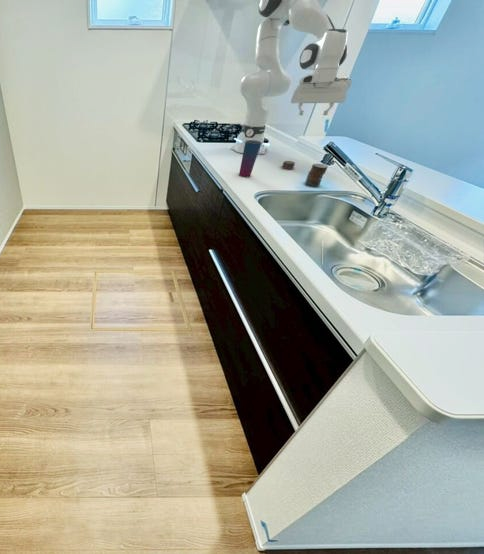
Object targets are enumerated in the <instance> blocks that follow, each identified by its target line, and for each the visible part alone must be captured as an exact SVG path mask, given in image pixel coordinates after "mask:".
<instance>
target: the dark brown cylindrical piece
mask: <svg viewBox="0 0 484 554" xmlns="http://www.w3.org/2000/svg"><path fill="white" fill-rule="evenodd" d="M328 168H329V166H328V165H326V164H323V163H313V164H312V165H311V168H310V170H308V173H307V175H306V179H305V182H304V185H305V186H307V187H311V188H319V187H320V185H321V183H322V180H323V177H324V175H325V174H326V172H327V171H328V170H327V169H328Z"/></svg>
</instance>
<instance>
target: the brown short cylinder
mask: <svg viewBox="0 0 484 554" xmlns="http://www.w3.org/2000/svg"><path fill="white" fill-rule="evenodd" d="M295 165H296V162H295V161H292V160H284V161H283V162H282V166H281V168H282V169H284V170H293V169H294V167H295Z"/></svg>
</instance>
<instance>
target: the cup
mask: <svg viewBox="0 0 484 554" xmlns="http://www.w3.org/2000/svg"><path fill="white" fill-rule="evenodd" d="M261 143H262V142H260V141H256V140H246V141H245V146H244V151H243V153H242V156H241V162H240V168H239V173H238V176H240V177H242V178H251V175H252V171H253V169H254V166H255V163H256V161H257V157H258V155H259V154H258V152H259V149H260V146H261Z"/></svg>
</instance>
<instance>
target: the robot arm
mask: <svg viewBox="0 0 484 554" xmlns="http://www.w3.org/2000/svg"><path fill="white" fill-rule="evenodd" d="M258 14H259V15H260V16H261V17H264V19H263V20H262V21H261V22H260V24H259V25H258V28H257V32H256V39H255V49H254V50H255V52H254V63H255V65H256V66H257V68H259V69H260V70H261V71H253V72H249V73H246V74H245V75H244V76H243V77H242V78H241V80H240V82H239V93H240V94H241V96H243V98H244V100H245V102H246V114H245V118H244V123H243V124H242V127H241V132H240V133H238V135H237V137H234V140H235V144H234V146H232V147H231V150H233V151H234V152H236V153H239V154H243V151H244V146H245V141H246V140H256V141H260V142H262V143H261V146H260V149H259V152H258V155H264V154H265V152H266V149H267V147H266V146H269V147H270V143H266V142H264V141H265V131H266V123H267V120H268V117H269V112H270V110H269V108H268V106H267V105H266V104H264V103H263V98H264V97H265V98H266V97H268V98H269V97H270V98H271V97H278V96H279V97H280V96H282V95H285V94H286V93H287V92H288V91H289V89H290V87H291V84H292V77H291V75H290V73H289V72H287V71H286V70H285V68H284V67H283V65H282V62H281V59H280V40H281V29H282V27H283V26H284V27H287V26H289V25H290V26H291V28H292V29H294V30H295V31H298V32H301V33H306V34H310V35H313V36H315V37H316V38H317V39H316V40H315V41H313V42H311V43H309V44H307V45H306V46H305V47H304V49H303V50H302V51H301V54H300V56H299V67H300V68H301V69H302V70H305V71H312V73H311V74H307V75H305V76H302V77H300V78H299V81H298V84H297V85H296V86H295V89H294V90H293V93H292V96H291V98H290V103H291V104H298V106H297V107H298V116H303V115H304V110H302V107H303V105H304V104H328V107H327V109H326V110H324V111H323V113H322V116H328V114H329V111H330V110H331V109H332V108H333V107H334V105H335V104H343V103H344V102H345V101H346V98H347V95H348V90H349V89H350V87H351V85H352V79H351V78H350V77H349V76H343V77H342V76H337V75H338V73H339V69H340V67H341V65H342V64H343V63H345V60H346V59H347V57H348V52H349V49H348V44H347V42H348V41H347V40H348V33H349V32H348V30H347V29H345V28H336V27H335V25H334V24H333V21H332V20H331V18H330V16H329V15H328V13H326V11H325V10H324V9H323V8H322V6H321V5H320V3H319V1H318V0H259V2H258Z"/></svg>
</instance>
